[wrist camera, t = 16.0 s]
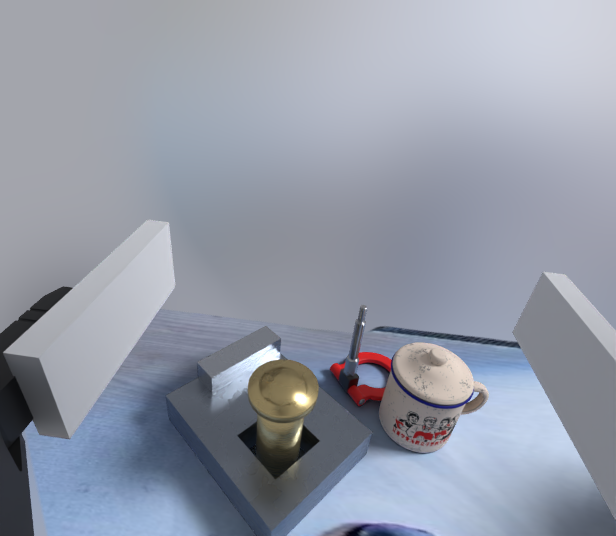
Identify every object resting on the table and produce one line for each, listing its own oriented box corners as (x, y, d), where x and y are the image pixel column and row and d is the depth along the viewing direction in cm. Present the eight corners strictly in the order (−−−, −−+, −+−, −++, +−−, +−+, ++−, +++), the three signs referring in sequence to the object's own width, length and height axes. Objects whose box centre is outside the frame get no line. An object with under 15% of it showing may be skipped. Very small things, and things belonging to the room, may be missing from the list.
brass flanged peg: (318, 463, 41) (333, 388, 35) (273, 506, 37) (280, 429, 31) (279, 424, 45) (286, 349, 38) (234, 458, 41) (233, 381, 34)
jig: (366, 454, 43) (377, 417, 39) (269, 552, 34) (273, 516, 30) (263, 361, 53) (265, 325, 49) (169, 418, 44) (163, 379, 41)
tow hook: (378, 352, 57) (325, 368, 53) (396, 277, 51) (338, 289, 47) (416, 391, 51) (359, 413, 47) (442, 312, 45) (380, 329, 40)
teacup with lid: (383, 454, 43) (407, 383, 37) (371, 389, 51) (390, 322, 44) (486, 460, 44) (527, 391, 37) (459, 395, 51) (489, 329, 45)
